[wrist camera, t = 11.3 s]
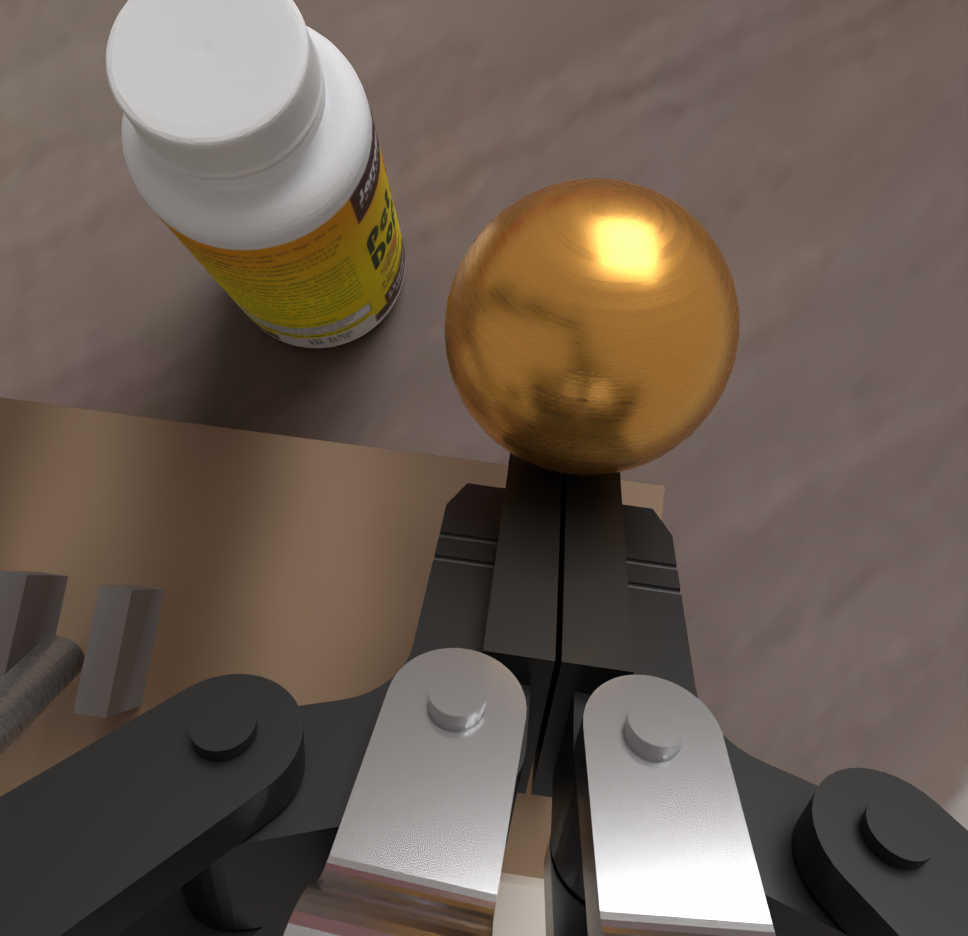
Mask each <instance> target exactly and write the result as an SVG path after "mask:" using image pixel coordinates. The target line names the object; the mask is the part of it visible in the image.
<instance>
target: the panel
mask: <svg viewBox="0 0 968 936" xmlns="http://www.w3.org/2000/svg"><path fill="white" fill-rule="evenodd" d="M507 473H508V465H503V464H495V463H487V462H480V461H472V460H465V459H457V458H450V457H442V456H435V455H427V454H420V453H412V452H405V451H397V450H390V449H382V448H375V447H367V446H360V445H352V444H345V443H337V442H330V441H322V440H314V439H307V438H299V437H292V436H284V435H277V434H269V433H262V432H254V431H247V430H239V429H232V428H224V427H217V426H209V425H202V424H194V423H187V422H179V421H172V420H164V419H157V418H149V417H141V416H134V415H126V414H119V413H111V412H104V411H96V410H89V409H81V408H74V407H66V406H59V405H51V404H44V403H36V402H29V401H21V400H14V399H6V398H0V679H1V678H2V677H3V676H4V675H5V674H6V673H7V672H8V671H9V670H10V669H11V668H13V667H14V666H15V665H16V664H17V663H18V662H19V661H20V660H21V659H22V658H23V657H25V656H26V655H27V654H28V653H29V652H30V651H31V650H32V649H33V648H34V647H35V646H37V645H38V644H39V643H40V642H41V641H42V640H43V639H45V638H46V637H49V636H63V637H66V638H68V639H70V640H72V641H73V642H75V643H76V644H77V645H78V646H79V647H80V648H81V650H82V651H83V653H84V656H85V658H84V662H83V667H82V672H81V673H80V674H79V675H78V676H77V677H76V678H75V679H74V680H73V681H72V682H71V683H70V684H69V685H68V686H67V687H66V689H65V690H64V691H63V692H62V693H61V694H60V695H59V696H58V697H57V698H56V699H55V700H54V701H53V702H52V703H51V704H50V706H49V707H48V708H47V709H46V710H45V711H44V712H43V713H42V714H41V715H40V716H39V717H38V718H37V719H36V720H35V721H34V723H33V724H32V725H31V726H30V727H29V728H28V729H27V730H26V731H25V732H24V733H23V734H22V735H21V736H20V737H19V738H18V739H17V741H16V742H15V743H14V744H13V745H12V746H11V747H10V748H9V749H8V750H7V751H6V752H5V753H4V754H3V755H2V756H1V758H0V797H1V796H2V795H4V794H6V793H7V792H9V791H11V790H13V789H14V788H16V787H18V786H19V785H21V784H23V783H25V782H26V781H28V780H30V779H31V778H33V777H35V776H37V775H38V774H40V773H42V772H44V771H45V770H47V769H49V768H50V767H52V766H54V765H56V764H57V763H59V762H61V761H62V760H64V759H66V758H68V757H69V756H71V755H73V754H74V753H76V752H78V751H80V750H81V749H83V748H85V747H87V746H88V745H90V744H92V743H93V742H95V741H97V740H99V739H100V738H102V737H104V736H105V735H107V734H109V733H111V732H112V731H114V730H116V729H117V728H119V727H121V726H123V725H124V724H126V723H128V722H130V721H131V720H133V719H135V718H136V717H138V716H140V715H142V714H143V713H145V712H147V711H148V710H150V709H152V708H154V707H155V706H157V705H159V704H160V703H162V702H164V701H166V700H167V699H169V698H171V697H172V696H174V695H176V694H178V693H179V692H181V691H183V690H185V689H186V688H188V687H190V686H192V685H194V684H196V683H198V682H201V681H204V680H206V679H209V678H212V677H217V676H221V675H228V674H251V675H256V676H261V677H264V678H267V679H269V680H272V681H274V682H276V683H277V684H279V685H281V686H282V687H283V688H285V689H286V690H287V691H288V692H289V693H290V694H291V695H292V697H293V698H294V699H295V701H296V702H297V704H298V706H301V705H308V704H315V703H322V702H329V701H336V700H343V699H348V698H353V697H356V696H359V695H362V694H365V693H368V692H370V691H372V690H374V689H376V688H378V687H380V686H381V685H383V684H384V683H386V682H387V681H389V680H390V679H391V678H392V677H393V676H394V675H395V674H397V673H398V671H399V670H400V669H401V668H402V666H403V665H404V664H405V662H406V660H407V659H408V657H409V655H410V652H411V649H412V646H413V642H414V638H415V634H416V630H417V626H418V621H419V617H420V613H421V609H422V605H423V600H424V596H425V592H426V588H427V584H428V579H429V575H430V571H431V567H432V563H433V560H434V555H435V550H436V546H437V542H438V538H439V535H440V529H441V525H442V521H443V517H444V512H445V508H446V504H447V503H448V502H449V501H450V500H451V499H452V498H453V497H454V496H455V495H456V494H457V493H458V492H459V491H460V490H461V489H462V488H463V487H464V486H465V485H466V484H467V483H470V484H477V485H485V486H492V487H499V488H505V487H506V480H507ZM664 489H665V486H661V485H653V484H645V483H638V482H630V481H623V480H621V493H622V504H623V505H630V506H637V507H645V508H652V509H653V510H654V511H655V512H656V514H657V515H658V517H659V518H660V519H662V509H663V499H664ZM532 772H533V763H532V767H531V772H530V776H529V781H528V785H527V790H526V794H523V793H517V797H516V802H515V806H514V811H513V816H512V821H511V825H510V830H509V835H508V840H507V844H506V847H505V850H504V856H503V863H502V869H501V875H500V881H499V887H498V893H497V900H496V906H495V913H494V919H493V933H492V936H546V926H545V896H544V858H545V854H546V849H547V846H548V842H549V838H550V835H551V813H552V797H545V796H539V795H532V794H531V789H532Z"/></svg>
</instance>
